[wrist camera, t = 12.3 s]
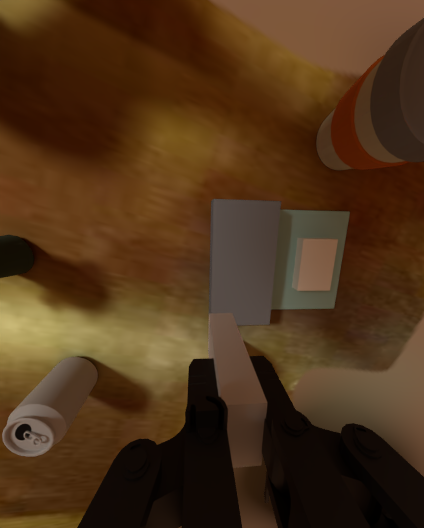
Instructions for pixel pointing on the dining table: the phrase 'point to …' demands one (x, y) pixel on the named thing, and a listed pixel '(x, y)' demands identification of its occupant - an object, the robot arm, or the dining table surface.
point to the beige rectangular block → (314, 264)
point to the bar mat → (289, 230)
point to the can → (50, 408)
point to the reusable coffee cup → (380, 112)
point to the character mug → (14, 256)
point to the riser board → (243, 258)
